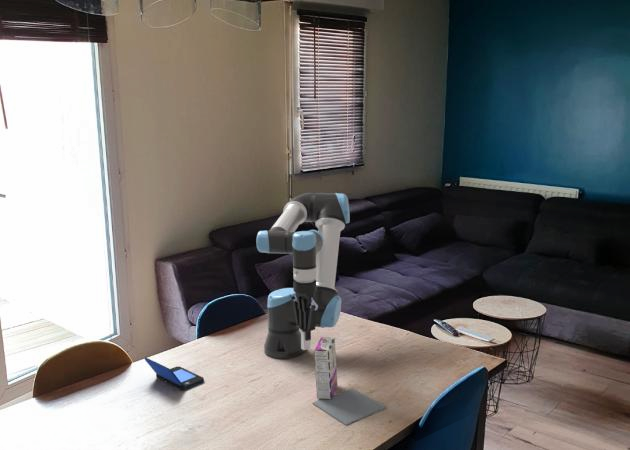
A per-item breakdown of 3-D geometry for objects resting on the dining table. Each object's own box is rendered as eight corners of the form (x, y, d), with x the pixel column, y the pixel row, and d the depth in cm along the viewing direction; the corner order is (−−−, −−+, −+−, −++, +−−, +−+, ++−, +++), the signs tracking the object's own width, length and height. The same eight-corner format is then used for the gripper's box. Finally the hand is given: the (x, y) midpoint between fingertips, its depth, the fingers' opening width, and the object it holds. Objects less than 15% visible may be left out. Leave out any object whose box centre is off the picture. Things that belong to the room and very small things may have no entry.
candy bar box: (322, 384, 201) (320, 336, 198) (337, 384, 200) (335, 337, 197) (315, 399, 190) (313, 349, 187) (331, 400, 189) (329, 349, 186)
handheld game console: (205, 382, 204) (204, 356, 202) (172, 396, 194) (170, 369, 192) (178, 368, 214) (176, 344, 212) (145, 382, 204) (143, 356, 203)
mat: (312, 403, 188) (312, 402, 188) (352, 388, 197) (352, 387, 197) (345, 425, 175) (345, 424, 175) (386, 408, 185) (386, 407, 185)
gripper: (283, 277, 199) (285, 345, 204) (307, 286, 189) (308, 357, 194) (302, 273, 204) (303, 339, 208) (326, 282, 193) (326, 351, 198)
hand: (305, 348), depth 201 cm, fingers closed
